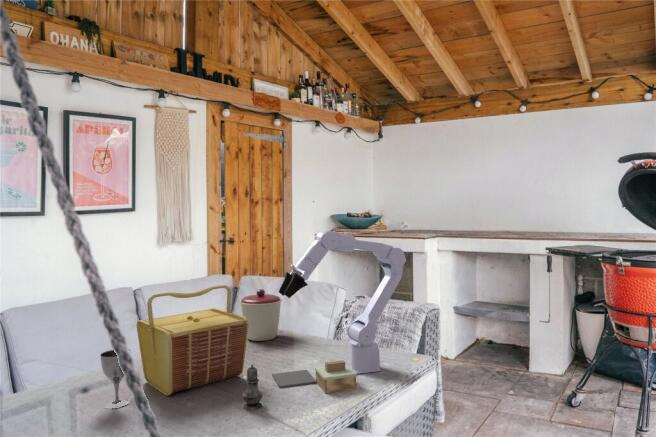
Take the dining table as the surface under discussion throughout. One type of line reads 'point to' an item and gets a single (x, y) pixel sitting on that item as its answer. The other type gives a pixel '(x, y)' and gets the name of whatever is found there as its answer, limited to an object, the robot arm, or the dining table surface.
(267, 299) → the canister
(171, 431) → the dining table surface
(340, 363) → the lid
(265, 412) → the dining table surface
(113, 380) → the wine glass
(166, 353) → the picnic basket
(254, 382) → the salt shaker
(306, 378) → the mat
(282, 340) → the dining table surface
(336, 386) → the box
